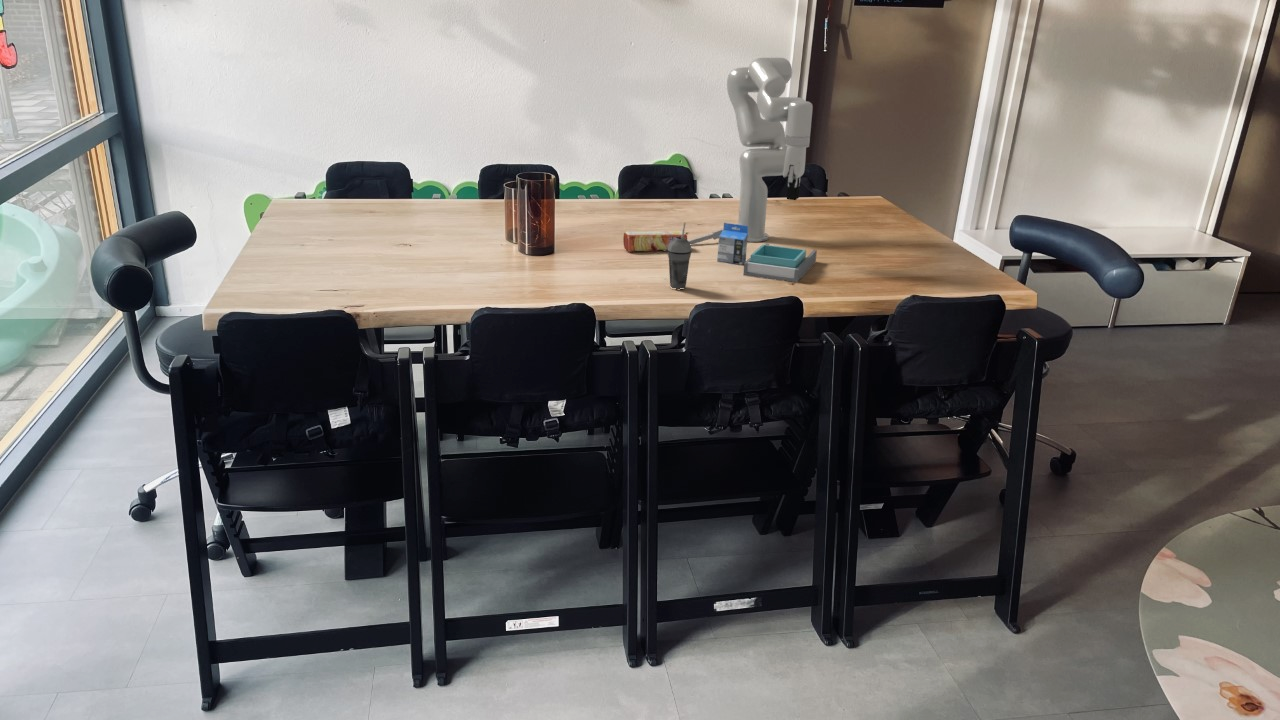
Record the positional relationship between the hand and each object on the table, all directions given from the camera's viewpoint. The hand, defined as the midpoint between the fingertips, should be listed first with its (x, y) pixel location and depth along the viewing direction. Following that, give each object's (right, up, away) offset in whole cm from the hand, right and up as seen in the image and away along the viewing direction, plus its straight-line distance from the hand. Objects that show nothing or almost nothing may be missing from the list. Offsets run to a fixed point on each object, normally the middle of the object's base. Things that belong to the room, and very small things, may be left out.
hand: (792, 198), depth 322 cm
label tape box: (-19, -20, +6) cm, 28 cm away
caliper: (-27, -12, +26) cm, 39 cm away
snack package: (-44, -15, +17) cm, 50 cm away
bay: (-4, -23, 0) cm, 23 cm away
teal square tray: (-5, -23, -4) cm, 24 cm away
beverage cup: (-38, -31, -23) cm, 54 cm away
